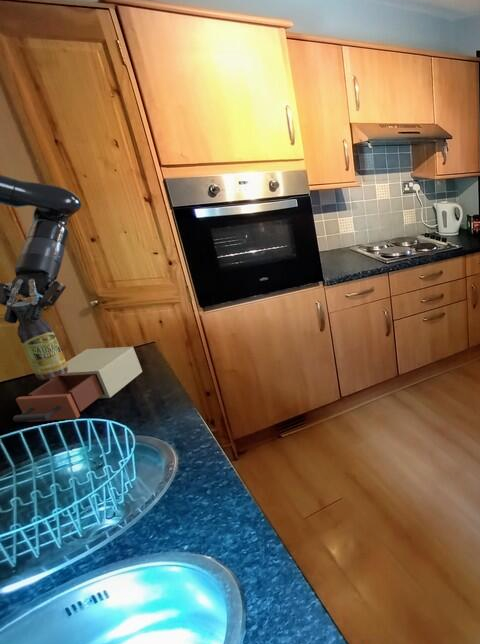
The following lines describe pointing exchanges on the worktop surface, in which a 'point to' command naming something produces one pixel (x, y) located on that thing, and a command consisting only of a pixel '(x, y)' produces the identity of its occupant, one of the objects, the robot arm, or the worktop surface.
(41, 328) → the sauce bottle
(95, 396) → the reddish brown drawer
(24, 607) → the worktop surface
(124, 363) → the drawer cabinet
